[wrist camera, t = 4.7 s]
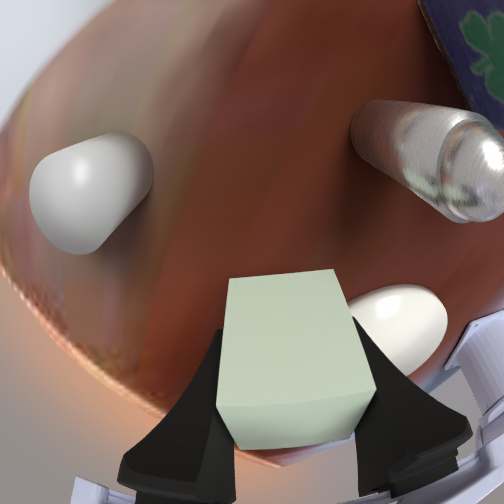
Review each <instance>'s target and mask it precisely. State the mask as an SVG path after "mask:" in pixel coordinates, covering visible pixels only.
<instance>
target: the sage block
mask: <svg viewBox="0 0 504 504" xmlns="http://www.w3.org/2000/svg"><path fill="white" fill-rule="evenodd" d="M375 391H376V386H375V383H374V380H373V377H372V373H371V370H370V367H369V364H368V361H367V358H366V355H365V352H364V349H363V346H362V344H361V341H360V338H359V335H358V332H357V329H356V327H355V324H354V321H353V318H352V316H351V313H350V310H349V308H348V305H347V303H346V300H345V297H344V295H343V292H342V290H341V287H340V285H339V282H338V280H337V277H336V275H335V272H334V270H333V269H328V270H318V271H309V272H299V273H288V274H278V275H267V276H256V277H244V278H232V279H229V286H228V295H227V304H226V313H225V322H224V331H223V340H222V350H221V359H220V369H219V379H218V390H217V400H216V407H217V409H218V411H219V413H220V415H221V417H222V419H223V421H224V423H225V424H226V426H227V428H228V430H229V432H230V433H231V435H232V437H233V439H234V441H235V442H236V444H237V446H238V447H239V449H240V450H256V449H276V448H289V447H299V446H307V445H315V444H322V443H328V442H334V441H339V440H345V439H349V438H350V436H351V434H352V433H353V431H354V429H355V428H356V426H357V424H358V422H359V421H360V419H361V417H362V415H363V414H364V412H365V410H366V408H367V406H368V404H369V402H370V401H371V399H372V397H373V395H374V393H375Z"/></svg>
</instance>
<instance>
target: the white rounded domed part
mask: <svg viewBox="0 0 504 504" xmlns="http://www.w3.org/2000/svg"><path fill="white" fill-rule="evenodd" d="M153 177H154V167H153V161H152V158H151V155H150V153H149V151H148V149H147V148H146V146H145V145H144V144H143V143H142V142H141V141H140V140H139V139H138V138H137V137H135V136H133V135H131V134H129V133H125V132H111V133H107V134H104V135H101V136H98V137H95V138H92V139H89V140H86V141H83V142H81V143H78V144H75V145H72V146H70V147H67V148H65V149H62V150H60V151H57V152H55V153H53V154H50V155H48V156H47V157H45V158H44V159H43V160H42V161H41V162H40V163H39V164H38V165H37V167H36V168H35V170H34V173H33V175H32V178H31V182H30V189H29V199H30V206H31V210H32V214H33V217H34V219H35V222H36V223H37V225H38V227H39V229H40V230H41V232H42V233H43V235H44V236H45V237H46V238H47V239H48V240H49V241H50V242H51V243H52V244H53V245H54V246H56V247H57V248H59V249H60V250H62V251H64V252H67V253H70V254H75V255H84V254H89V253H91V252H93V251H95V250H96V249H98V248H99V247H100V246H101V245H102V244H103V243H104V241H105V240H106V239H107V238H108V237H109V236H110V234H111V233H112V232H113V231H114V230H115V229H116V228H117V227H118V225H119V224H120V223H121V222H122V221H123V220H124V219H125V218H126V217H127V216H128V215H129V213H130V212H131V211H132V210H133V209H134V208H135V207H136V206H137V205H138V204H139V203H140V202H141V201H142V200H143V199H144V198H145V197H146V195H147V194H148V192H149V190H150V188H151V186H152V182H153Z"/></svg>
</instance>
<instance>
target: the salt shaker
mask: <svg viewBox="0 0 504 504" xmlns="http://www.w3.org/2000/svg"><path fill="white" fill-rule="evenodd" d="M350 137H351V142H352V145H353V147H354V149H355V151H356V152H357V154H358V155H359V156H360V157H361V158H362V159H363V160H365V161H366V162H368V163H369V164H371V165H373V166H374V167H376V168H377V169H379V170H381V171H382V172H384V173H385V174H387V175H388V176H390V177H392V178H393V179H395V180H396V181H398V182H399V183H401V184H402V185H404V186H405V187H406V188H408V189H409V190H411V191H412V192H414V193H415V194H416V195H418V196H419V197H421V198H422V199H423V200H425V201H426V202H427V203H429V204H430V205H431V206H433V207H434V208H435V209H437V210H438V211H439V212H441V213H442V214H443V215H444V216H446V217H447V218H448V219H450V220H452V221H454V222H457V223H467V222H486V221H490V220H492V219H494V218H496V217H498V216H499V215H501V214H502V213H503V212H504V138H503V137H502V136H501V135H500V133H499V132H498V131H496V129H495V128H494V126H493V125H492V124H491V123H490V121H489V120H488V119H486V118H485V117H484V116H482V115H481V114H478V113H475V112H471V111H466V110H461V109H456V108H450V107H444V106H438V105H431V104H423V103H414V102H404V101H391V100H372V101H369V102H366V103H365V104H363V105H362V106H360V107H359V108H358V110H357V111H356V112H355V114H354V116H353V118H352V121H351V125H350Z"/></svg>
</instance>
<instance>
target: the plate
mask: <svg viewBox="0 0 504 504" xmlns="http://www.w3.org/2000/svg"><path fill="white" fill-rule="evenodd" d="M347 305H348V308H349V310H350V313H351V316H354V317H355V318H356V320H357V321H358V322H359V324H360V325H361V326H362V327H363V329H364V330H365V331H366V333H367V334H368V335H369V336H370V338H371V339H372V340H373V341H374V343H375V344H376V345H377V346H378V347H379V348H380V350H381V351H382V352H383V353H384V354H385V355H386V356H387V357H388V359H389V360H390V361H391V362H392V363H393V364H394V365H395V366H396V367H397V368H398V369H399V370H400V371H401V372H402V373H403V374H404V375H405V376H407V375H409V374H410V373H412V372H413V371H414V370H416V369H417V368H418V367H419V366H421V365H422V364H423V363H424V362H425V361H426V360H427V359H428V358H429V357H430V356H431V355H432V354H433V352H434V351H435V350H436V348H437V347H438V346H439V344H440V342H441V340H442V338H443V336H444V334H445V331H446V328H447V313H446V310H445V308H444V306H443V305H442V303H441V302H440V300H439V299H438V297H437V296H436V295H435V294H434V293H433V292H432V291H431V290H429V289H428V288H425V287H423V286H420V285H414V284H398V285H391V286H386V287H382V288H379V289H376V290H372V291H370V292H367V293H365V294H362V295H360V296H358V297H356V298H354V299H352V300H350V301H348V302H347Z"/></svg>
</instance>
